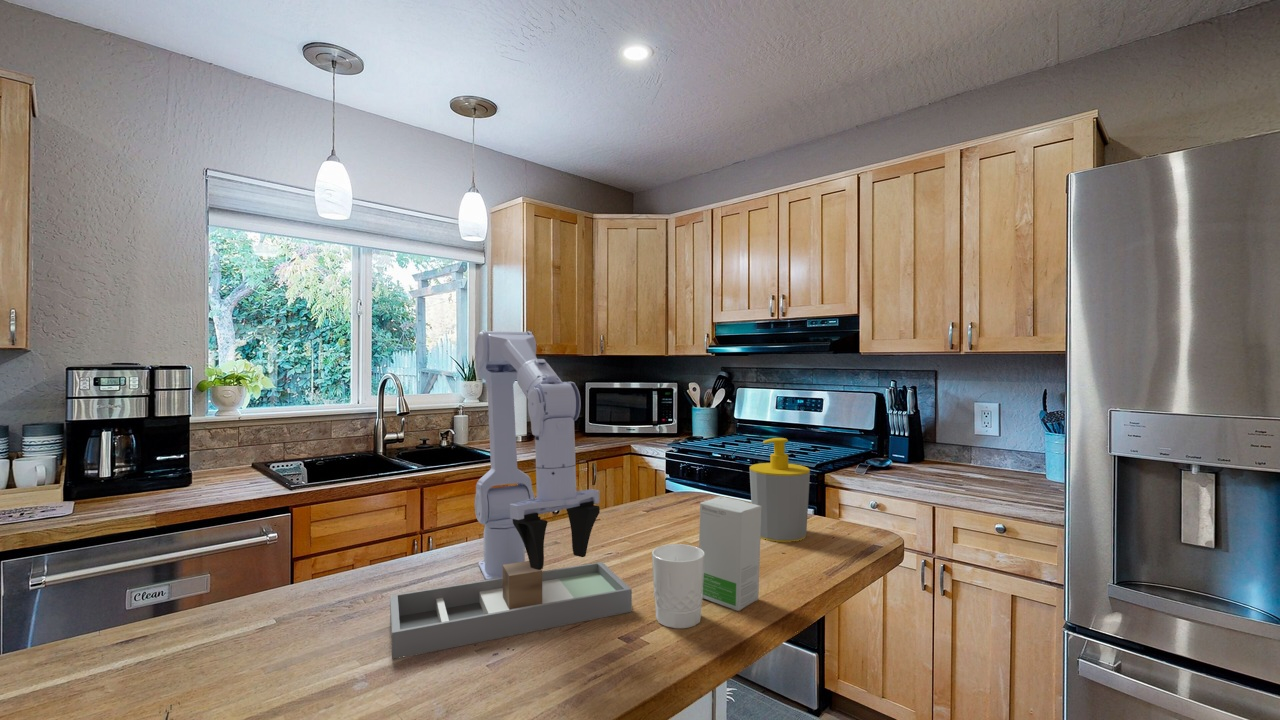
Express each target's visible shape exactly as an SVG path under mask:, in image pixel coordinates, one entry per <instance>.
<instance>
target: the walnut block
mask: <svg viewBox="0 0 1280 720" xmlns="http://www.w3.org/2000/svg"><path fill="white" fill-rule="evenodd" d="M542 571H543V569H540V570H537V569H534V568H531V566H530V562H529V560H525V562H518V563H512V564H505V565H503V599H504V600H505V602H506V604H507V606H508V608H509V610H510V609H516V608H521V607H527V606H532V605H538V604H542Z"/></svg>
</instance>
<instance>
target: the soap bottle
mask: <svg viewBox="0 0 1280 720" xmlns="http://www.w3.org/2000/svg"><path fill="white" fill-rule="evenodd" d="M787 442H789V440H788V439H787V438H786V437H785V438H784V437H772V438H768V439H765V440H763V441H762V443H763V444H771V443H772V444H773V453H770V456H769V458H770V462H763V463H762V462H759V463H755V464H752V465H750V466H749V483H750V484H749V485H750V499H751V500H750V503H751V504H755V505H759V506H761V534H760V539H761V538H762V539H761V540H764V539H766V540H765V541H768V540H769V541H770V542H774V541H776V542H775V543H792V542H791V541H796V542H799V540H800V541H803V540H805V539H804V538H806V537H807V531H808V510H809V496H810V495H809V494H810V480H811V479H810V477H811V475H810V474H811V470H810V468H809V467H808V466H807V467H806V466H805V465H801V464H795V463H789V455H788V454H787V453H785V451H786V449H785V448H786V447H785V446H786V445H785V443H787ZM802 539H803V540H802ZM769 541H768V542H769Z"/></svg>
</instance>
